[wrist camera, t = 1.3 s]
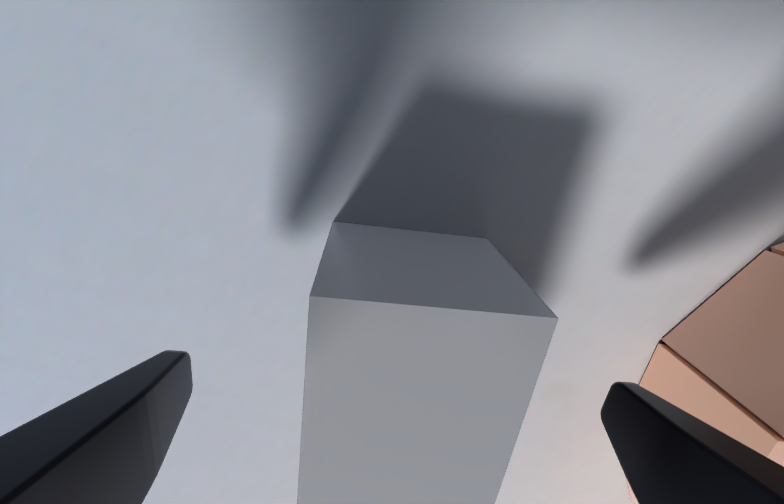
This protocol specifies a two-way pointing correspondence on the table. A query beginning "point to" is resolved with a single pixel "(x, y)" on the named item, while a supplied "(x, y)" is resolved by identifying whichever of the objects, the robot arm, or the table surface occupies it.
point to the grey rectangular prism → (415, 368)
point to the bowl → (731, 359)
